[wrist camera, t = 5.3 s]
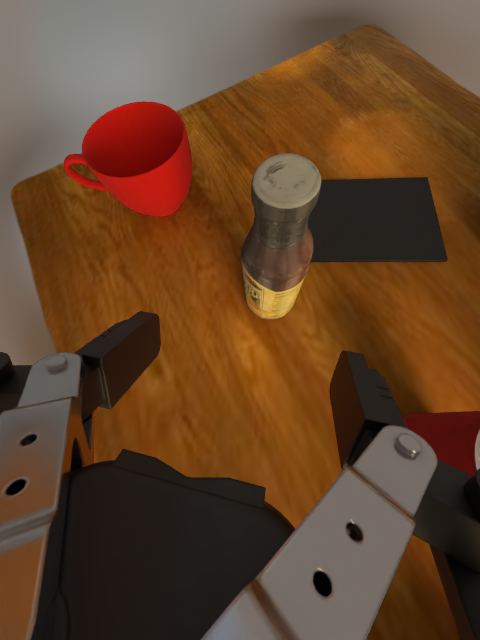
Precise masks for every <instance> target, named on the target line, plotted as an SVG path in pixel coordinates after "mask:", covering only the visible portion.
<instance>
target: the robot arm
mask: <svg viewBox="0 0 480 640" xmlns="http://www.w3.org/2000/svg"><path fill="white" fill-rule="evenodd" d="M160 345H161V342H160V323H159V316H158V315H157V314H153V313H148V312H143V311H140V312H138V313H137V314H135V315H134V316H132V317H131V318H130V319H128V320H124V321H122V322H119V323H116V324H115V325H113V326H112V327H110V328H109V329H107V331H105V332H103V333H102V334H100V336H98V337H96V338H95V339H93V340H92V341H91V342H89V343H88V344H86V345H85V346H84V347H82V348H81V349H79V350H78V351H77V352H75V353H70V352H63V353H56V354H52V355H49V356H46V357H44V358H42V359H40V360H39V361H37V362H36V363H35V364H34V365H22V366H21V365H18V366H17V365H16V366H15V365H12V362H11V359H10V357H9V355H8V354H6V353H3V352H0V640H366V638H367V636H368V634H369V632H370V629H371V627H372V625H373V622H374V620H375V618H376V615H377V613H378V611H379V608H380V606H381V604H382V602H383V599H384V597H385V595H386V592H387V590H388V588H389V585H390V583H391V581H392V579H393V576H394V574H395V572H396V569H397V567H398V565H399V562H400V560H401V558H402V555H403V553H404V551H405V549H406V546H407V544H408V542H409V539H410V537H411V535H412V534H414V535H415V536H417V537H419V538H420V539H422V540H424V541H425V542H427V543H429V545H430V548H431V551H432V554H433V557H434V560H435V563H436V566H437V569H438V572H439V575H440V579H441V582H442V585H443V588H444V591H445V594H446V597H447V600H448V603H449V606H450V609H451V612H452V615H453V618H454V622H455V625H456V628H457V631H458V634H459V637H460V640H480V468H479V469H478V470H477V471H476V472H475V473H474V475H473V476H472V475H469V474H467V473H465V472H463V471H461V470H459V469H457V468H455V467H452V466H450V465H448V464H446V463H444V462H442V461H440V460H438V459H437V457H436V454H435V452H434V450H433V449H432V447H431V446H430V445H429V444H428V443H427V442H426V441H425V440H424V439H423V438H422V437H420V436H419V435H418V434H416V433H414V432H413V431H411V430H409V429H408V428H407V425H406V423H405V421H404V419H403V417H402V415H401V413H400V410H399V408H398V406H397V404H396V402H395V400H394V399H393V396H392V393H391V391H389V387H388V385H387V383H386V381H385V379H384V378H383V377H382V376H381V375H380V374H379V373H378V372H377V371H376V370H375V369H372V368H369V367H368V365H367V362H366V360H365V357H364V355H363V354H360V353H354V352H349V351H344V350H343V351H342V352H341V354H340V356H339V359H338V362H337V365H336V368H335V371H334V374H333V377H332V380H331V383H330V400H331V406H332V412H333V419H334V425H335V431H336V438H337V444H338V450H339V456H340V463H341V469H345V470H344V471H343V472H342V473H341V475H340V476H339V477H338V478H337V479H336V481H335V482H334V483H333V484H332V486H331V487H330V488H329V489H328V490H327V492H326V493H325V494H324V495H323V497H322V498H321V499H320V500H319V501H318V503H317V504H316V505H315V506H314V508H313V509H312V510H311V511H310V512H309V514H308V515H307V516H306V517H305V519H304V520H303V521H302V522H301V523H300V525H299V526H298V527H297V528H296V529H295V528H294V527H293V525H292V524H291V523H290V522H289V521H288V519H286V518H285V517H284V516H283V515H282V514H281V513H280V512H279V511H278V510H277V509H275V508H274V507H273V506H272V505H270V504H269V503H267V502H265V501H264V498H265V489H266V488H265V487H261V486H257V485H254V484H250V483H246V482H243V481H239V480H235V479H232V478H191V477H186V476H184V475H183V474H181V473H179V472H178V471H176V470H175V469H173V468H172V467H170V466H168V465H167V464H165V463H164V462H162V461H160V460H159V459H157V458H155V457H151V456H147V455H144V454H140V453H137V452H133V451H129V450H126V449H123V450H122V451H121V453H120V454H119V456H118V457H117V458H116V460H111V461H103V462H99V463H94V428H95V415H94V410H95V409H96V408H97V407H98V406H99V407H103V408H107V409H112V407H113V406H114V405H115V404H116V403H117V402H118V401H119V399H120V398H121V397H122V396H123V395H124V394H125V393H126V391H127V390H128V389H129V388H130V387H131V386H132V384H133V383H134V382H135V381H136V380H137V379H138V378H139V376H140V375H141V374H142V373H143V372H144V371H145V370H146V368H147V367H148V366H149V365H150V364H151V363H152V361H153V360H154V359H155V358H156V357H157V355H158V353H159V350H160Z"/></svg>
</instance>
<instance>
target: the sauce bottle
mask: <svg viewBox="0 0 480 640" xmlns="http://www.w3.org/2000/svg"><path fill="white" fill-rule="evenodd" d="M320 188H321V176H320V174H319V171H318V169H317V167H316V166H315V164H314V163H313V162H311V161H310V160H309V159H306V158H303V157H302V156H299V155H297V154H278V155H275V156H272V157H270V158H268V159H266V160H265V161H264V162H263V163H262V164H260V166H259V167H258V168H257V169H256V171H255V173H254V175H253V179H252V189H251V197H252V203H253V206H254V211H255V218H254V223H253V225H252V227H251V229H250V231H249V233H248V235H247V237H246V239H245V241H244V242H243V245H242V248H241V261H242V269H243V279H244V286H245V294H246V301H247V304H248V306H249V308H250V309H251V310H252V312H253V313H254V314H255V315H256V316H258V317H260V318H262V319H266V320H276V319H279V318H281V317H283V316H284V315H286V314H287V313H288V312H289V311H290V310H291V308H292V307H293V305H294V302H295V300H296V298H297V295H298V293H299V290H300V288H301V286H302V283H303V281H304V278H305V276H306V274H307V271H308V266H309V263H310V261H311V258H312V253H313V237H312V234H311V231H310V229H309V228H308V218H309V215H310V212H311V211H312V210H313V208H314V207H315V205H316V203H317V200H318V196H319V193H320Z"/></svg>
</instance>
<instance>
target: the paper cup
mask: <svg viewBox="0 0 480 640" xmlns="http://www.w3.org/2000/svg"><path fill="white" fill-rule="evenodd" d="M403 419H404V421H405V423H406V425H407V428H408V429H409V430H411V431H413V432H414V433H416V434H418V435H419V436H420V437H422V438H423V439H424V440H425V441H426V442H427V443H428V444H429V445H430V446H431V447H432V449H433V450H434V452H435V454H436V457H437V459H438V460H440V461H442V462H444V463H446V464H448V465H450V466H452V467H455V468H457V469H459V470H461V471H463V472H465V473H467V474H469V475H472V476H473V475H474V473H475V472H476V471H477V470H478V469H479V468H480V411H469V412H444V413H423V414H412V415H407V416H405V417H403Z"/></svg>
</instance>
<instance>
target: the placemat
mask: <svg viewBox="0 0 480 640" xmlns="http://www.w3.org/2000/svg"><path fill="white" fill-rule="evenodd" d="M308 228H309V229H310V231H311V234H312V237H313V253H312V258H311V261H310V262H446V261H447V260H448V259H447V255H446V251H445V247H444V243H443V239H442V235H441V231H440V226H439V222H438V218H437V214H436V210H435V206H434V202H433V198H432V194H431V190H430V185H429V181H428V177H420V178H386V179H352V180H321V188H320V193H319V196H318V200H317V203H316V205H315V207H314V208H313V210H312V211H311V212H310V215H309V218H308Z"/></svg>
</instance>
